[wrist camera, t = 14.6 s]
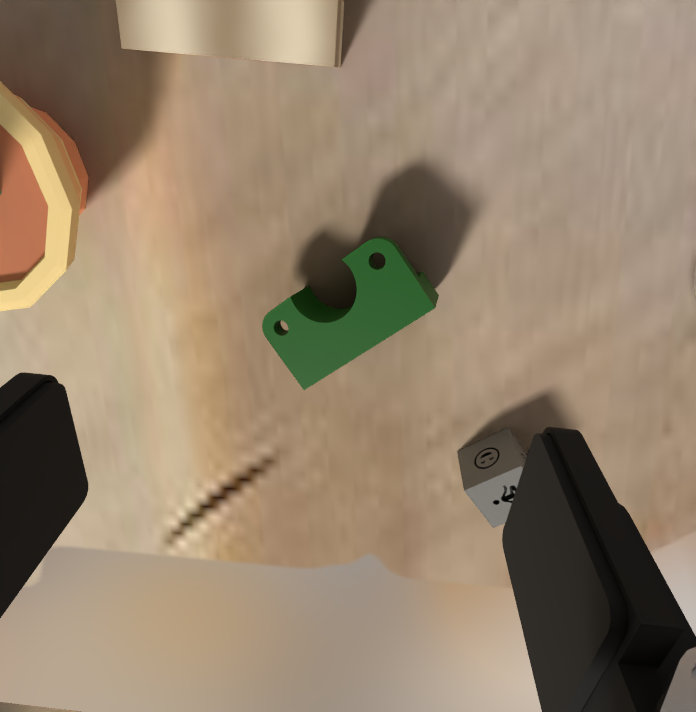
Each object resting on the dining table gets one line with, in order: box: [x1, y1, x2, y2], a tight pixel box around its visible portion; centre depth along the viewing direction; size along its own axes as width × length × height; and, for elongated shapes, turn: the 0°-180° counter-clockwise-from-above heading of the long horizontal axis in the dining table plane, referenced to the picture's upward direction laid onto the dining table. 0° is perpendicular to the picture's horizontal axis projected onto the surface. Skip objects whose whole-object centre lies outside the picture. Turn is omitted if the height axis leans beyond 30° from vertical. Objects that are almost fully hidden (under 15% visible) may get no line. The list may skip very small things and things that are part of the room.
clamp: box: [262, 237, 439, 390], centre depth 37 cm, size 12×6×9 cm, turn 121°
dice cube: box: [457, 428, 527, 528], centre depth 43 cm, size 5×5×5 cm
